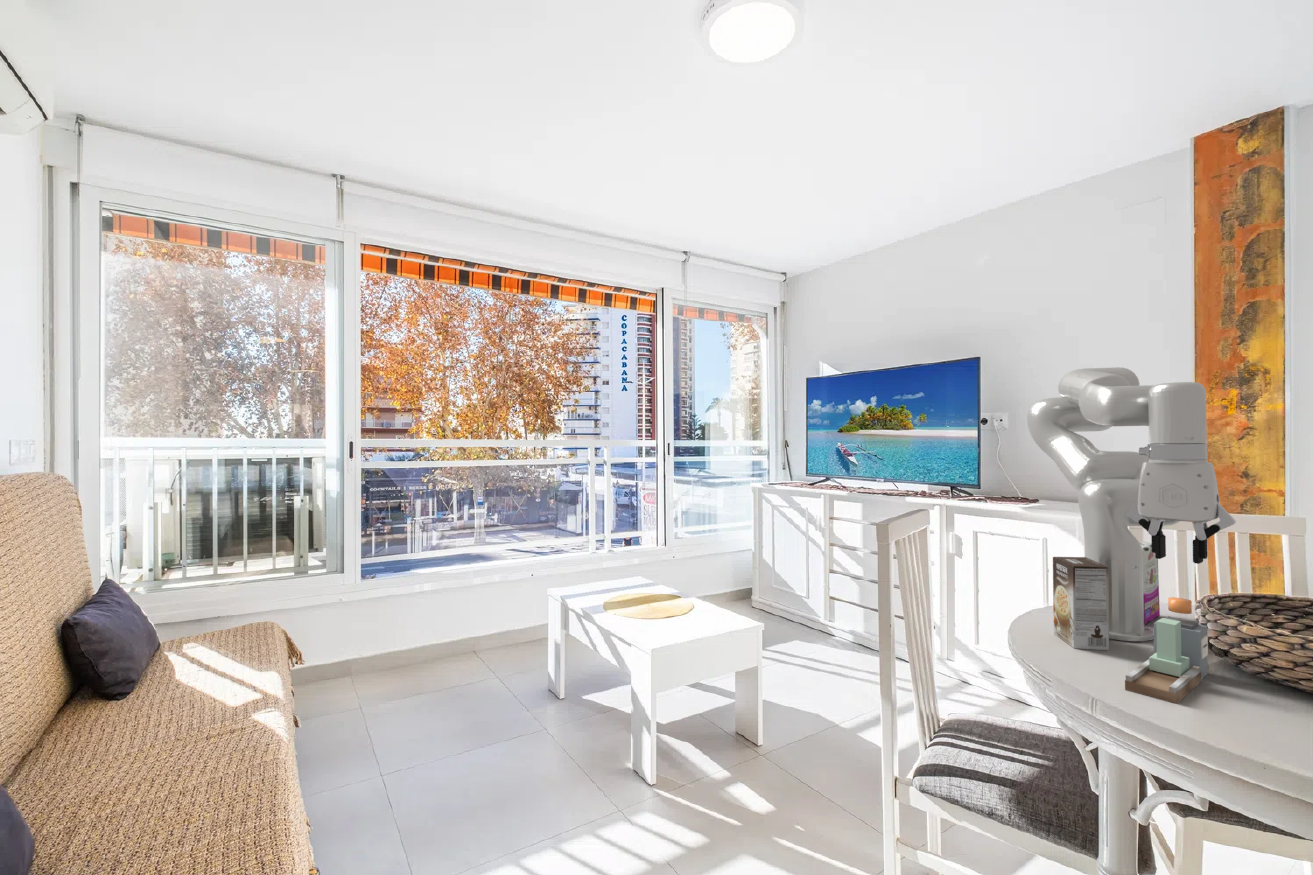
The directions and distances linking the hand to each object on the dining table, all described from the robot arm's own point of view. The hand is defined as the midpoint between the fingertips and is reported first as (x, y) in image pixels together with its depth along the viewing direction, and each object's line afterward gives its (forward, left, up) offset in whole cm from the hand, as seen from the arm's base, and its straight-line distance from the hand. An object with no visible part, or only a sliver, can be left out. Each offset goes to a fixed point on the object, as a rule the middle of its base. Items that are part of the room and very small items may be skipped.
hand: (1179, 558), depth 102 cm
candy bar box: (-30, -14, -20) cm, 39 cm away
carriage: (+7, 0, -18) cm, 19 cm away
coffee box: (-3, -16, -20) cm, 25 cm away
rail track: (+10, 0, -19) cm, 22 cm away
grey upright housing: (0, 0, -19) cm, 19 cm away
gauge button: (0, 0, -9) cm, 9 cm away
